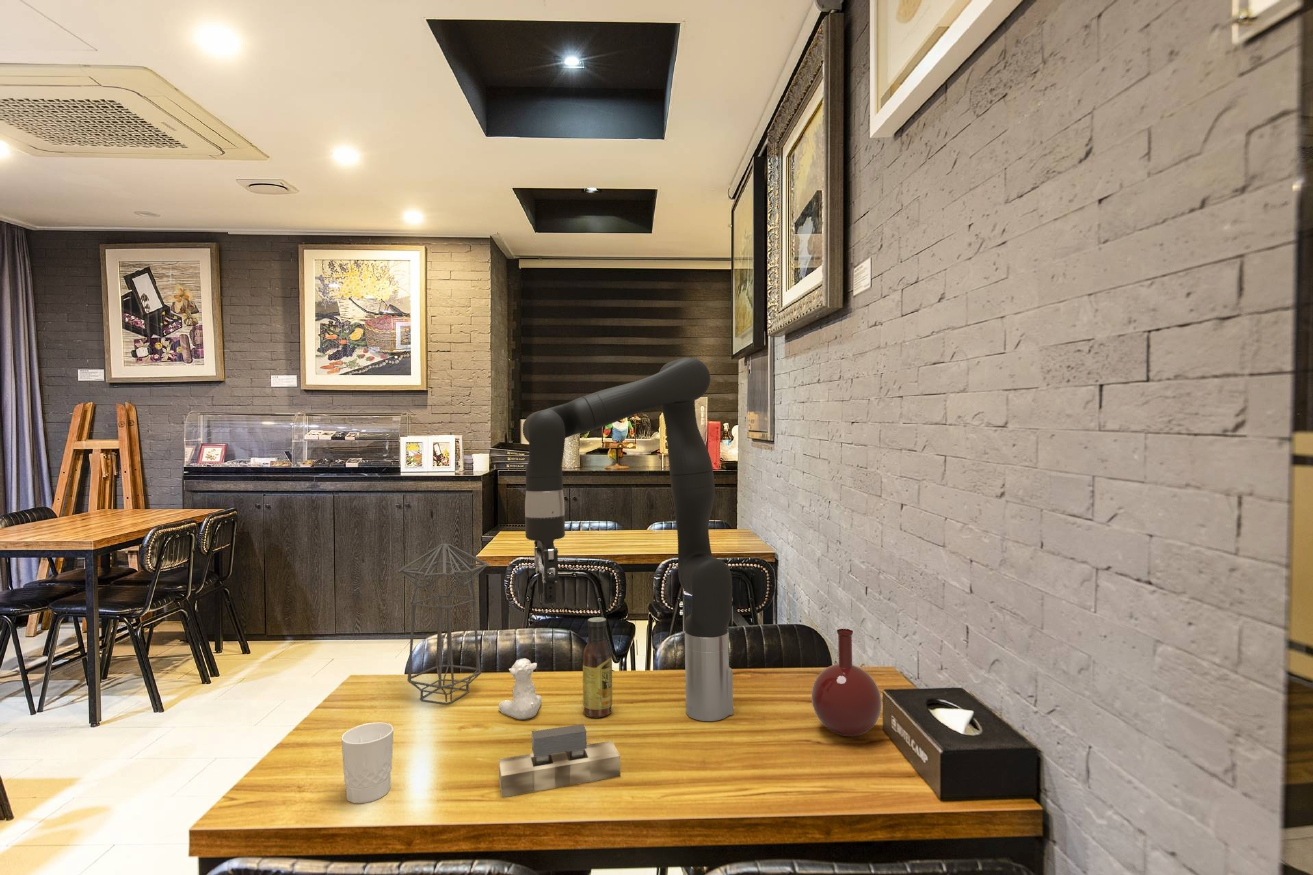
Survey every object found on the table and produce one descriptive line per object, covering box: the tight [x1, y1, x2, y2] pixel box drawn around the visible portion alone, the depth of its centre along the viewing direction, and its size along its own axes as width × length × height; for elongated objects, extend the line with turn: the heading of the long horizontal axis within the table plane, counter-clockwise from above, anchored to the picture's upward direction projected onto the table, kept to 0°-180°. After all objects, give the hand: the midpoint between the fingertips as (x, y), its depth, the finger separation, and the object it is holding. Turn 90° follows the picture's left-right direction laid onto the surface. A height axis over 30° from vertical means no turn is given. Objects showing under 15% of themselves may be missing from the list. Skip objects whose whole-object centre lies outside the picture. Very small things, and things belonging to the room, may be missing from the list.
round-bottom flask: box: [811, 628, 883, 737], centre depth 126 cm, size 13×13×20 cm
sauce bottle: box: [582, 616, 613, 719], centre depth 137 cm, size 7×6×20 cm
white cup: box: [341, 722, 394, 804], centre depth 107 cm, size 8×8×10 cm
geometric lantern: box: [398, 543, 490, 706], centre depth 148 cm, size 16×16×35 cm
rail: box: [498, 740, 621, 798], centre depth 110 cm, size 20×6×4 cm, turn 108°
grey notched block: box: [531, 723, 588, 766], centre depth 110 cm, size 9×3×8 cm, turn 107°
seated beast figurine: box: [498, 657, 542, 721], centre depth 137 cm, size 10×9×12 cm
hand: (546, 597), depth 124 cm, fingers open, 8 cm apart
